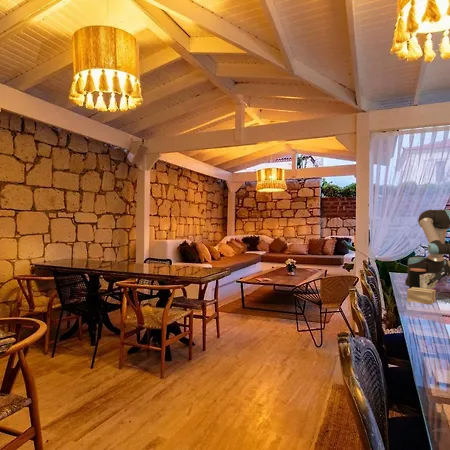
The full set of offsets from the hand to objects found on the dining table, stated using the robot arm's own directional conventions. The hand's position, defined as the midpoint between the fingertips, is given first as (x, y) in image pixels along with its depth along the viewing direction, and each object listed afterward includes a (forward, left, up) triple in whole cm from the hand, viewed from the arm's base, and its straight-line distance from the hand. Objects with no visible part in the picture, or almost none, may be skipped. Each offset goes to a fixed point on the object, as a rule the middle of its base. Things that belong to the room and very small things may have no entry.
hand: (426, 286), depth 246 cm
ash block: (+15, +2, -8) cm, 17 cm away
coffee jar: (-8, -9, -8) cm, 15 cm away
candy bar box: (0, +1, -8) cm, 8 cm away
